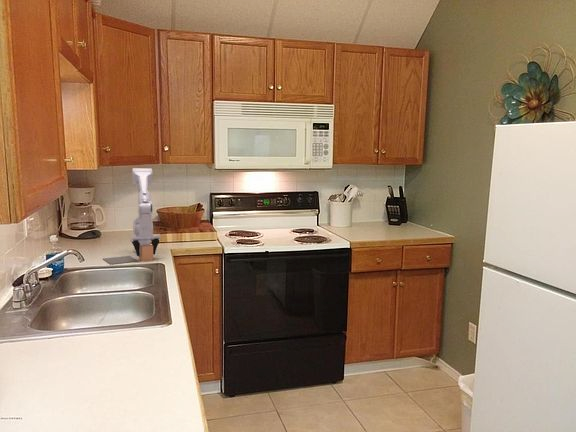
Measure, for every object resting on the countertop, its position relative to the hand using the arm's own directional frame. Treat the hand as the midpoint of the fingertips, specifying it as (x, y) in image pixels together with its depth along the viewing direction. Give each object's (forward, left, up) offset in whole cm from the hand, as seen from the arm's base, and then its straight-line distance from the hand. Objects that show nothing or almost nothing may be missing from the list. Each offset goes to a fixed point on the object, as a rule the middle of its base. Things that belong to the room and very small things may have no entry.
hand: (145, 255), depth 222 cm
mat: (-4, -11, -2) cm, 12 cm away
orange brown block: (0, 0, -2) cm, 2 cm away
